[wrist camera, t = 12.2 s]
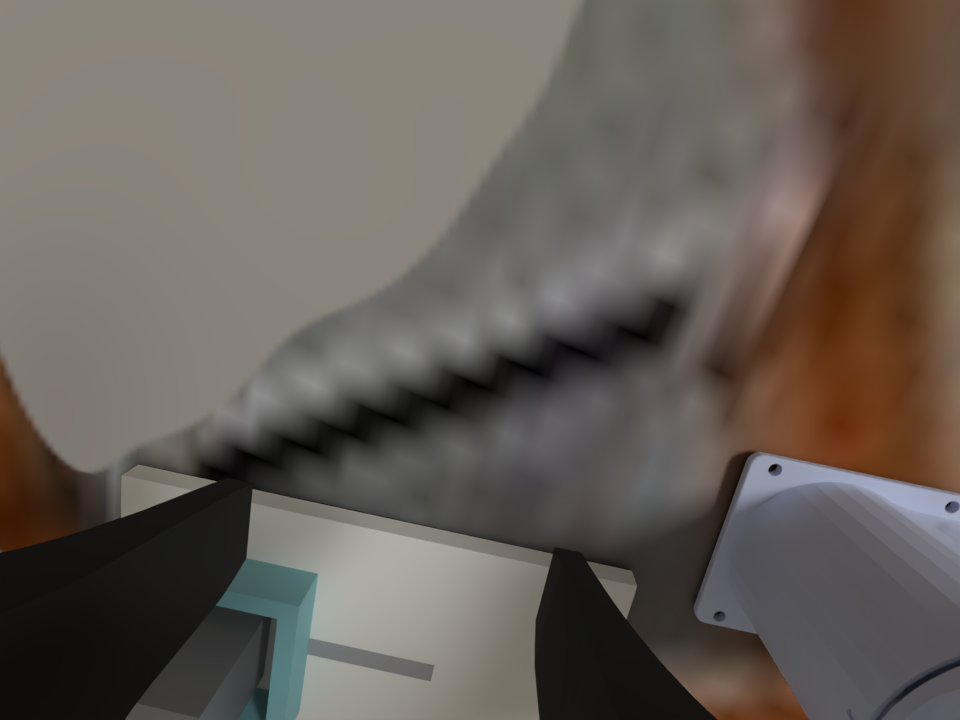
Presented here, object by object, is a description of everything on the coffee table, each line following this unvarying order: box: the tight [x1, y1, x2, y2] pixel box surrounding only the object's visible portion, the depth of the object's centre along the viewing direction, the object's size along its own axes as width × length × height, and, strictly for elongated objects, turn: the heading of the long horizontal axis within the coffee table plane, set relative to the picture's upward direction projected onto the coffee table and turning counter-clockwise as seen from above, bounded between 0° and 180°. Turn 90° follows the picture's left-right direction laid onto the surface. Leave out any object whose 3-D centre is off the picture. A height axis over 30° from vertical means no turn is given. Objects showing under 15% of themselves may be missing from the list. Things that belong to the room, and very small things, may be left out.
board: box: [121, 465, 637, 720], centre depth 23 cm, size 22×13×3 cm, turn 79°
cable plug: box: [125, 606, 271, 720], centre depth 20 cm, size 4×4×6 cm
